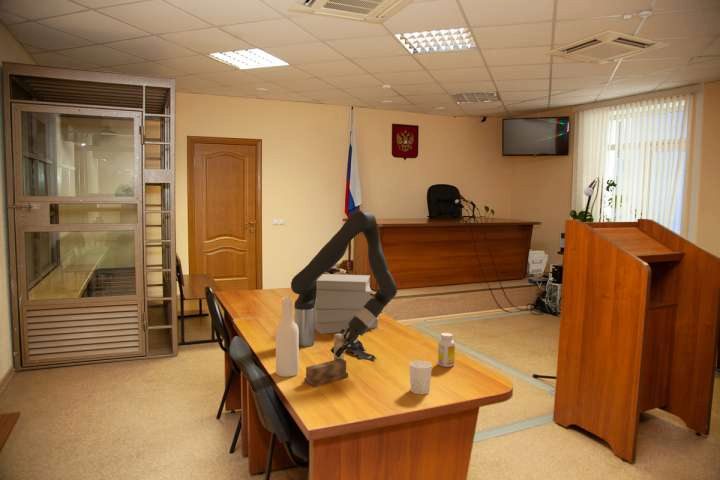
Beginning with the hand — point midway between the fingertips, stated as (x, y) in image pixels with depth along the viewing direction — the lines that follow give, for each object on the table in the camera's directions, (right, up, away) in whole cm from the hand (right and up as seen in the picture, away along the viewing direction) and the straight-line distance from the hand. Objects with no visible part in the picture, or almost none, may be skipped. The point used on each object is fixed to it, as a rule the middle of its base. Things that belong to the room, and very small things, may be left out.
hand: (334, 353), depth 198 cm
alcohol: (-18, -7, -4) cm, 20 cm away
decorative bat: (+9, -5, +23) cm, 26 cm away
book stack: (+1, 0, +65) cm, 65 cm away
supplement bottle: (+46, -6, +8) cm, 47 cm away
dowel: (+2, -6, +2) cm, 7 cm away
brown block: (-3, -7, -9) cm, 12 cm away
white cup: (+32, -9, -19) cm, 38 cm away
